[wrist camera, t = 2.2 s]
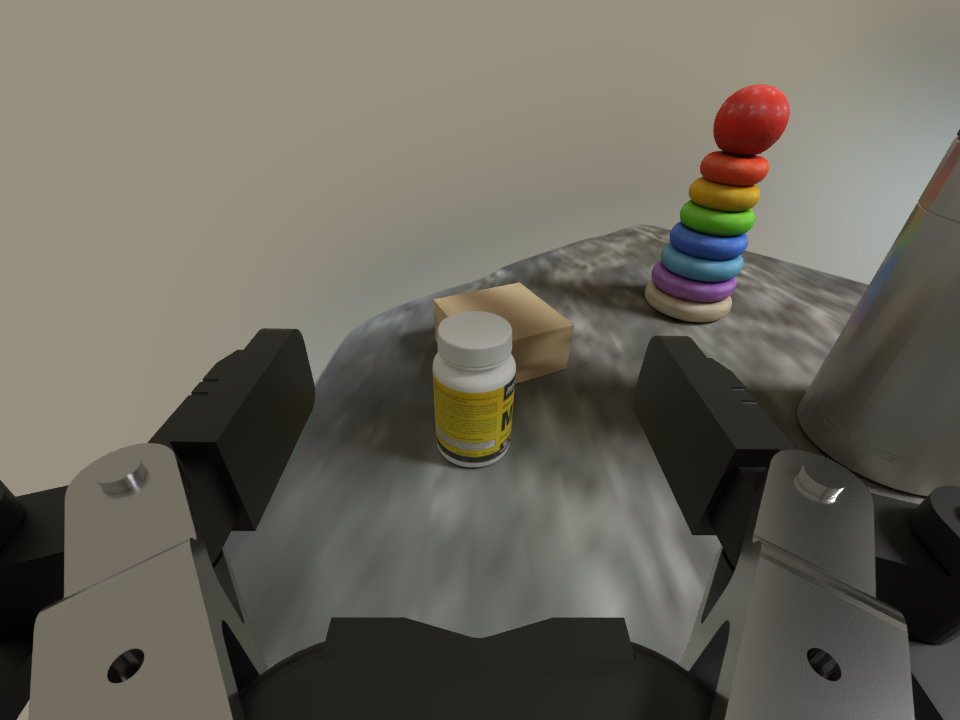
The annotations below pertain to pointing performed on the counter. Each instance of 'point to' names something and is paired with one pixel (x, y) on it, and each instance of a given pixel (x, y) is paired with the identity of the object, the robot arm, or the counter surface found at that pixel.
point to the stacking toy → (719, 210)
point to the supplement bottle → (474, 388)
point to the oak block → (519, 326)
